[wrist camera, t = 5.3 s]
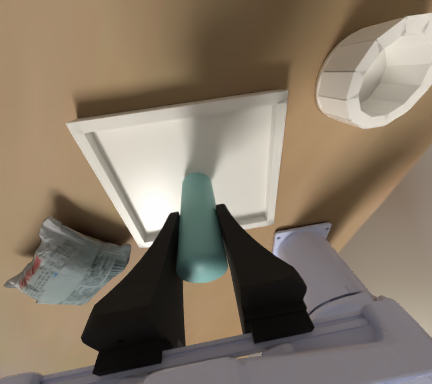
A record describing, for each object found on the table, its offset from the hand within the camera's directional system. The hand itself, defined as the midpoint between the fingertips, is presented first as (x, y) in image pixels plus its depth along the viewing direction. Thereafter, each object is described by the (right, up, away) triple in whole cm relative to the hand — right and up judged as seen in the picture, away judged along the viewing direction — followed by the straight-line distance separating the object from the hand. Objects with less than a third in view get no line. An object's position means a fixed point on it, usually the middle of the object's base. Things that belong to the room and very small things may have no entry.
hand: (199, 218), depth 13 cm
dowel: (-1, +2, +3) cm, 4 cm away
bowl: (+12, +11, +1) cm, 17 cm away
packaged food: (-16, -5, +8) cm, 19 cm away
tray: (-1, +3, +5) cm, 6 cm away
